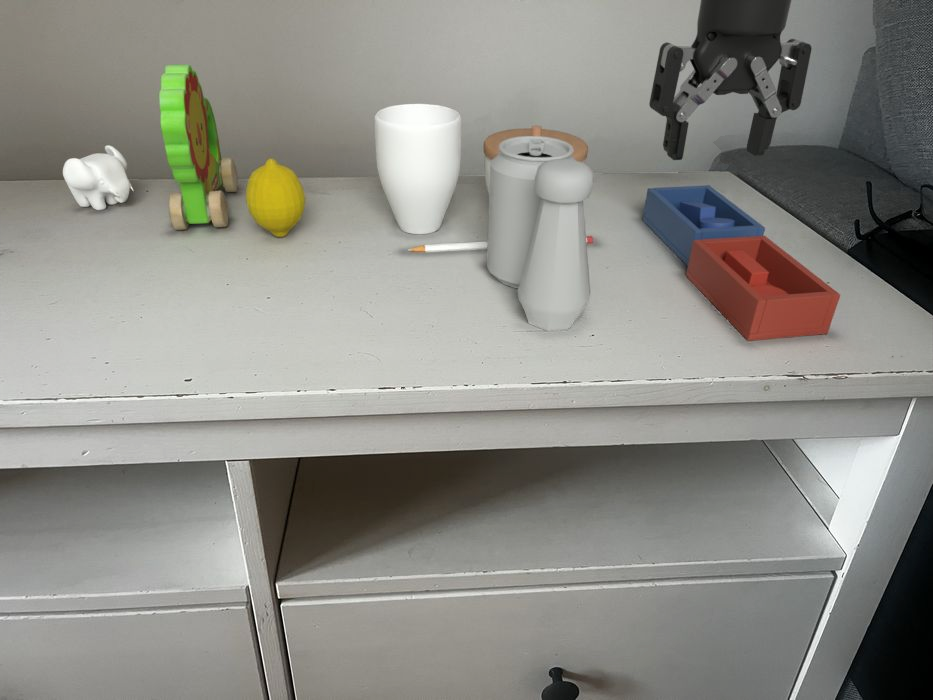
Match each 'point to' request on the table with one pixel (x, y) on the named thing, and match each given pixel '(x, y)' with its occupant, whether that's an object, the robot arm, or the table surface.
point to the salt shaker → (558, 247)
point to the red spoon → (751, 272)
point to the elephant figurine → (98, 179)
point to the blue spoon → (703, 215)
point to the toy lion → (193, 151)
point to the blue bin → (680, 230)
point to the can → (516, 201)
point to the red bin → (744, 306)
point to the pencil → (461, 246)
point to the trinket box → (495, 139)
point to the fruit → (275, 198)
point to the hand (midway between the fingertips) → (714, 155)
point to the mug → (418, 162)
